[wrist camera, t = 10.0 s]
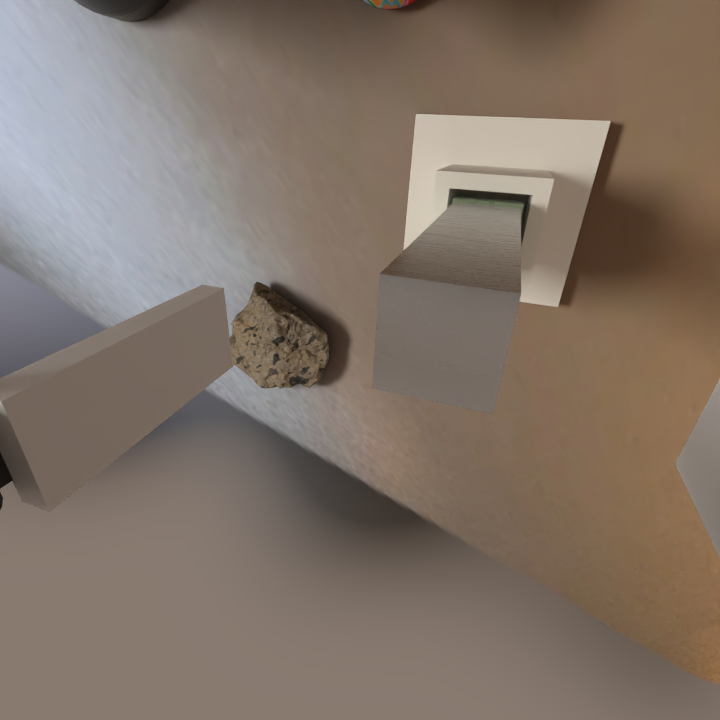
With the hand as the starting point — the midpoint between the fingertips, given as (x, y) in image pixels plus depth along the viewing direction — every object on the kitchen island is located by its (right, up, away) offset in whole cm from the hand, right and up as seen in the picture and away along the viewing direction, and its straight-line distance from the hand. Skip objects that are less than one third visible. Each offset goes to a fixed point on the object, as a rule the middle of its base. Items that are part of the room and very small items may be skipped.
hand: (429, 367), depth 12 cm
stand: (+9, +13, +24) cm, 29 cm away
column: (+7, +9, +18) cm, 21 cm away
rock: (-10, +3, +37) cm, 39 cm away
